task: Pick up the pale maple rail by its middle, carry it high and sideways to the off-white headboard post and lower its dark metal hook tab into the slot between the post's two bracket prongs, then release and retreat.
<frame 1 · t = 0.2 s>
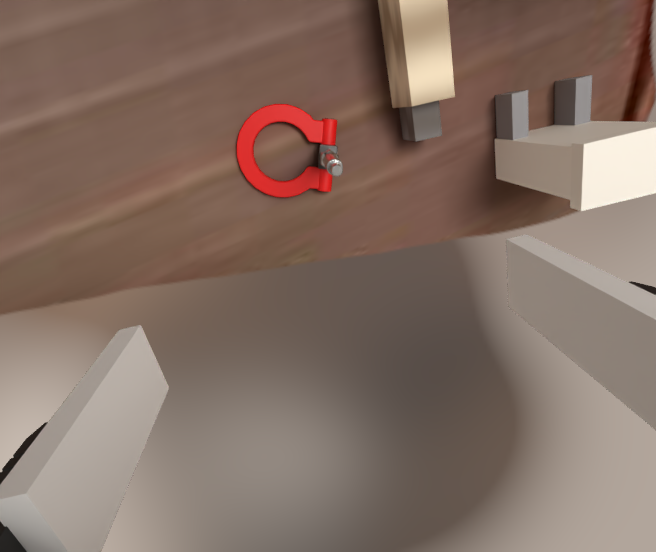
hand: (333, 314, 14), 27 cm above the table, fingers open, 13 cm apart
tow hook: (286, 152, 38), on the table
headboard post: (532, 150, 40), on the table
rail: (403, 38, 35), on the table
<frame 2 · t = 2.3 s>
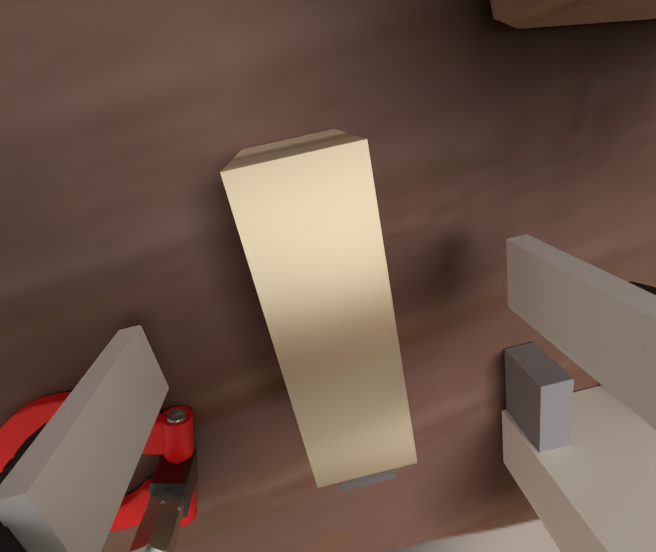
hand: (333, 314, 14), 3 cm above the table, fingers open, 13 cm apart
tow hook: (105, 453, 20), on the table
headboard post: (570, 420, 22), on the table
rail: (318, 270, 17), on the table
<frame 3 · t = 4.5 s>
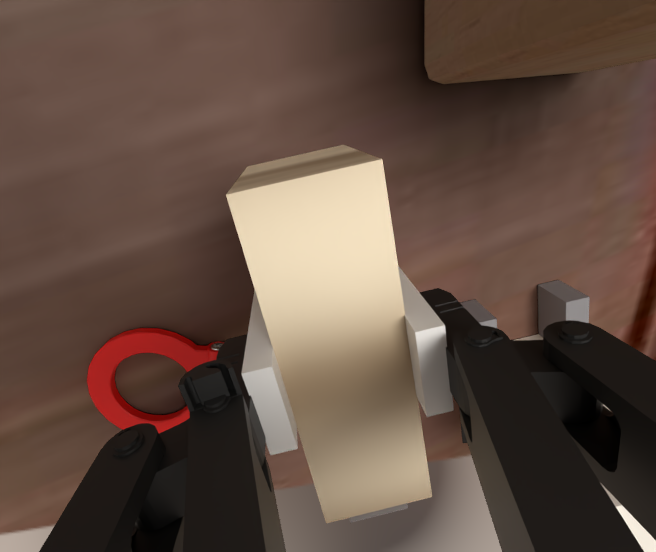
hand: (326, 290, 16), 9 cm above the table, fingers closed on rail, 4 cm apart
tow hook: (164, 378, 28), on the table
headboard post: (509, 363, 30), on the table
rail: (326, 289, 16), point 9 cm above the table, touching gripper
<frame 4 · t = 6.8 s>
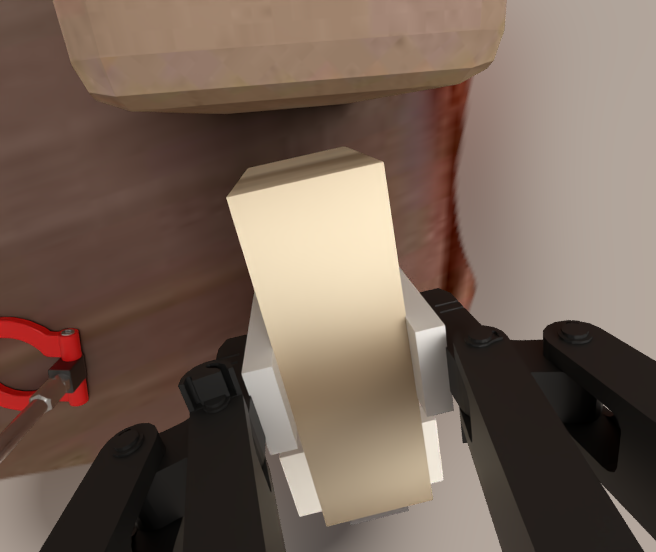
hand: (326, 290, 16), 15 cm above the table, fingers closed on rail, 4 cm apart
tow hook: (29, 360, 32), on the table
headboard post: (335, 345, 35), on the table
rail: (326, 291, 16), point 15 cm above the table, touching gripper
block: (277, 24, 25), on the table
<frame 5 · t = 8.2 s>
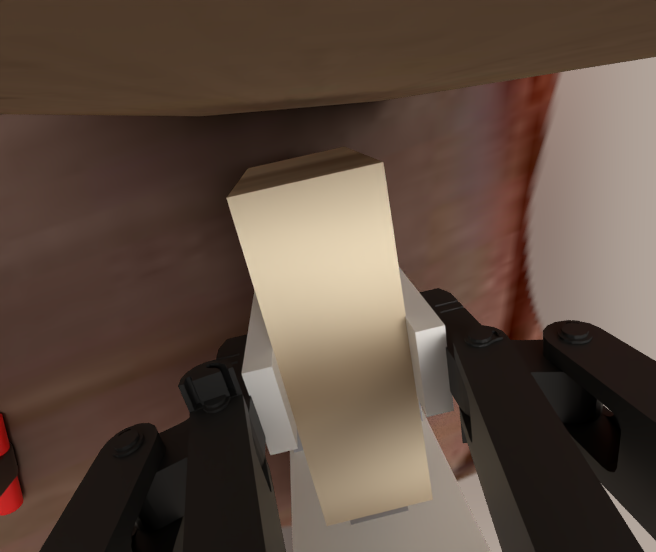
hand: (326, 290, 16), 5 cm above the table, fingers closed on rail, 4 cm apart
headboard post: (355, 425, 26), on the table
rail: (326, 291, 16), point 5 cm above the table, touching gripper
when the fingers open (1 cm above the table, at t = 9.2 s): rail stays where it is, on the table.
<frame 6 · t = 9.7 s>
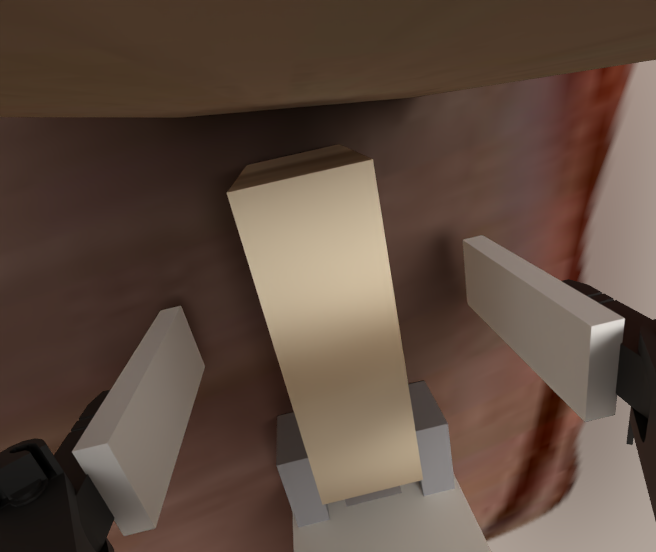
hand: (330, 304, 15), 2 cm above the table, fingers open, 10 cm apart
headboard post: (370, 482, 22), on the table
rail: (323, 283, 17), on the table
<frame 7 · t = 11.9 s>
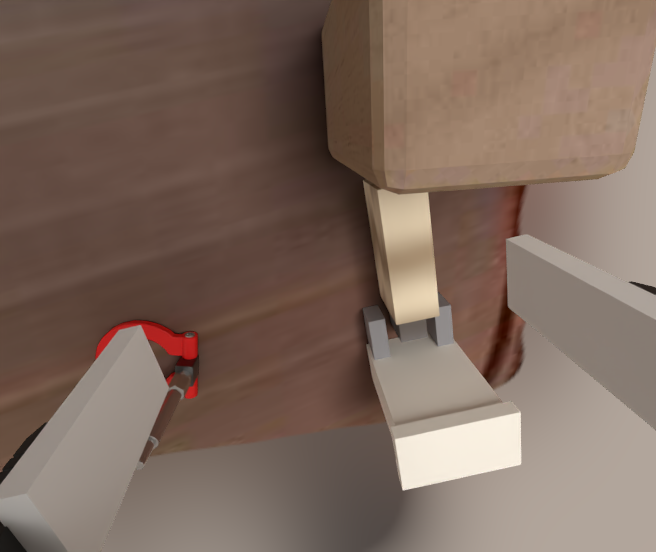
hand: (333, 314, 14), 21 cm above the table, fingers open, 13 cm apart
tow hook: (151, 357, 38), on the table
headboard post: (407, 352, 40), on the table
rail: (391, 237, 36), on the table
block: (385, 90, 32), on the table
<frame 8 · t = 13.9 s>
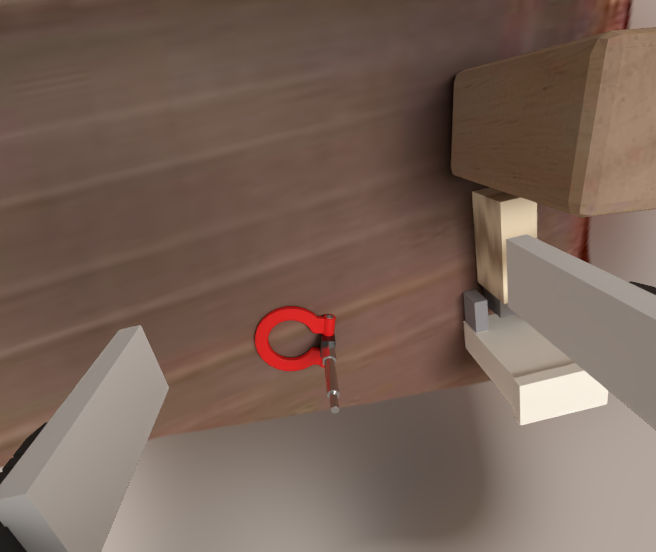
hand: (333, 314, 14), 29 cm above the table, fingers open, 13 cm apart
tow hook: (294, 336, 47), on the table
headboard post: (495, 327, 50), on the table
rail: (490, 235, 45), on the table
block: (494, 122, 41), on the table
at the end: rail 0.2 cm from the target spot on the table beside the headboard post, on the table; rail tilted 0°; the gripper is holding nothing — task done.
